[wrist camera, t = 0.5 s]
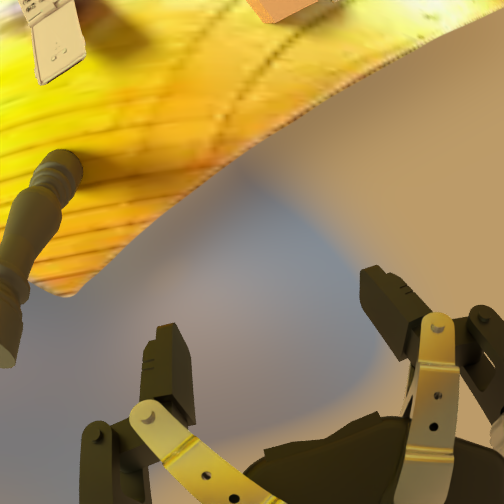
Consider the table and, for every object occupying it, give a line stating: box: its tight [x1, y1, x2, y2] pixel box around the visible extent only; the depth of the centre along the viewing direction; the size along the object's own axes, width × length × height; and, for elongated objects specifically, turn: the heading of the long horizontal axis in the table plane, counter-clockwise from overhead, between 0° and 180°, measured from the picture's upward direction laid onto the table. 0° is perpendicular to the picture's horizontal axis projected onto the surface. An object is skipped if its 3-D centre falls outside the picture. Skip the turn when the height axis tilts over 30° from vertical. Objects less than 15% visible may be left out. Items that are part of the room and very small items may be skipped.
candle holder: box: [0, 150, 83, 368], centre depth 22 cm, size 6×6×25 cm
